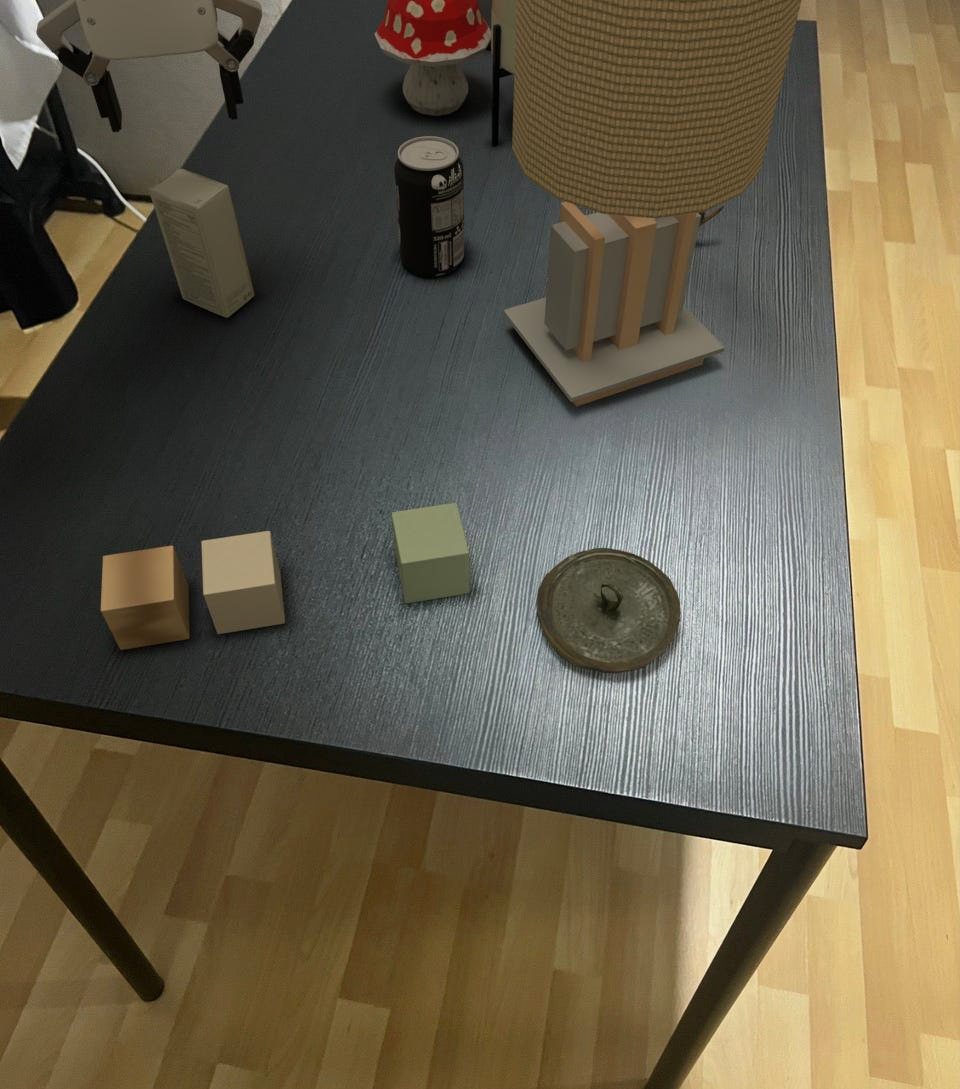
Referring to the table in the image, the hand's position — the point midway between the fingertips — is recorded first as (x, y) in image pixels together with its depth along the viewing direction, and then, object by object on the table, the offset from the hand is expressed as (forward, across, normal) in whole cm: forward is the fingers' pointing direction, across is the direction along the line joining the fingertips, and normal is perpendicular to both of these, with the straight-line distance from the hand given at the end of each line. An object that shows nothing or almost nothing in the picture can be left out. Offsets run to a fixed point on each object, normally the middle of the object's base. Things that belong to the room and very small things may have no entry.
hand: (175, 117), depth 85 cm
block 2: (+18, -1, +38) cm, 42 cm away
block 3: (+18, -15, +38) cm, 45 cm away
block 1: (+18, +6, +38) cm, 43 cm away
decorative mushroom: (+19, -28, -34) cm, 48 cm away
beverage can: (+19, -22, -2) cm, 29 cm away
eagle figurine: (+19, -48, -3) cm, 51 cm away
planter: (+19, -41, -25) cm, 51 cm away
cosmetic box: (+19, 0, 0) cm, 19 cm away
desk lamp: (+19, -36, +15) cm, 43 cm away
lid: (+18, -27, +45) cm, 56 cm away
